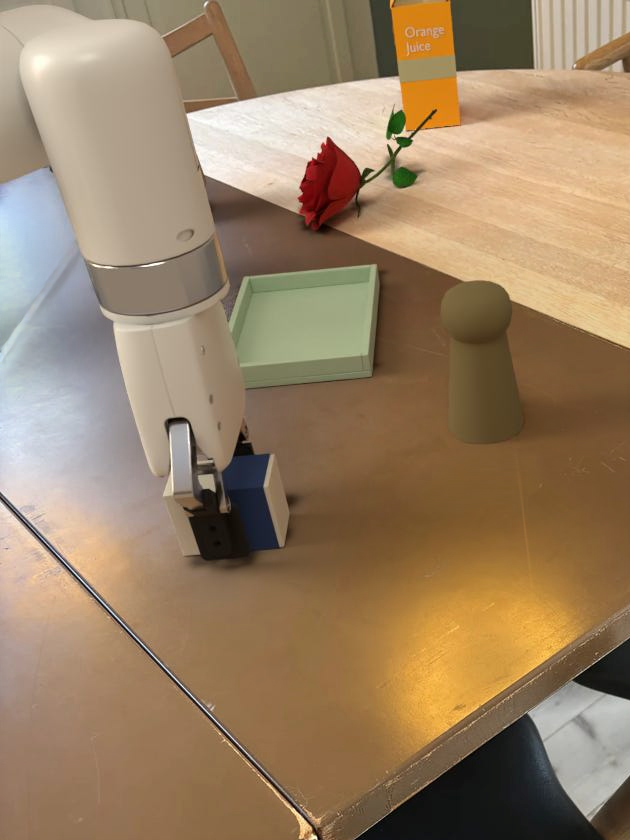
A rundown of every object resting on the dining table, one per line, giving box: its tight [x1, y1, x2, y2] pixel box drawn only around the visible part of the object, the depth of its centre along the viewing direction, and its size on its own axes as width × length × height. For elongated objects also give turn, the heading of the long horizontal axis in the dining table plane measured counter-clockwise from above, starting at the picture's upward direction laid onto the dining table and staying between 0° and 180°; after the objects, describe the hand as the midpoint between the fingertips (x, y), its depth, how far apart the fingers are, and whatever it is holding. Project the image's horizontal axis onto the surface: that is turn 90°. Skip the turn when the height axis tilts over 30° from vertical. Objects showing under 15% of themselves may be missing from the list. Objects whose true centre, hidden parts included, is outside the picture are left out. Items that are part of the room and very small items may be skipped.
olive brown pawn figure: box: [439, 279, 525, 445], centre depth 76 cm, size 6×6×11 cm
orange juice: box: [389, 0, 461, 131], centre depth 134 cm, size 8×9×20 cm
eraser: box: [162, 452, 291, 557], centre depth 69 cm, size 7×4×5 cm, turn 92°
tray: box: [228, 263, 381, 390], centre depth 93 cm, size 13×19×2 cm
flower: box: [296, 103, 437, 231], centre depth 118 cm, size 9×10×30 cm
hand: (234, 522), depth 70 cm, fingers open, 6 cm apart
